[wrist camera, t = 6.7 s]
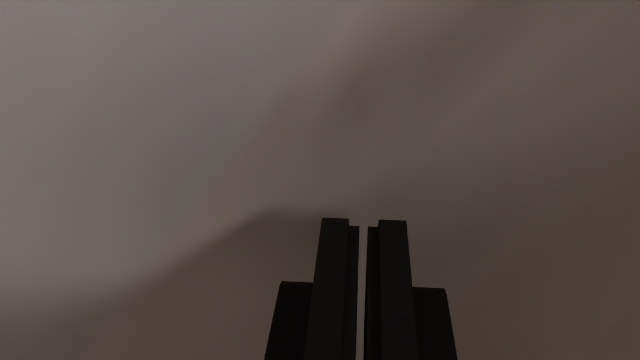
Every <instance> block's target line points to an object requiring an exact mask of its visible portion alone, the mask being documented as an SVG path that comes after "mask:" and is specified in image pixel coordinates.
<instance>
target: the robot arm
mask: <svg viewBox="0 0 640 360" xmlns="http://www.w3.org/2000/svg"><path fill="white" fill-rule="evenodd" d="M358 255H359V226H349V219H343V218H322V222H321V229H320V237H319V244H318V251H317V259H316V266H315V274H314V281H313V283H310V282H288V281H282V282H281V284H280V287H279V291H278V296H277V300H276V305H275V310H274V315H273V319H272V324H271V329H270V334H269V338H268V343H267V348H266V353H265V358H264V360H356V330H357V293H358ZM364 360H457V354H456V348H455V342H454V336H453V330H452V324H451V318H450V312H449V306H448V300H447V295H446V291H445V289H444V288H423V287H412V278H411V267H410V257H409V246H408V235H407V224H406V221H401V220H379V222H378V227H368V236H367V263H366V290H365V316H364Z"/></svg>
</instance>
